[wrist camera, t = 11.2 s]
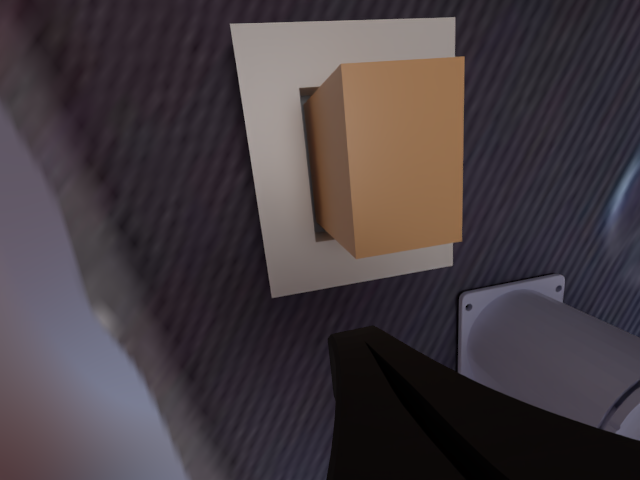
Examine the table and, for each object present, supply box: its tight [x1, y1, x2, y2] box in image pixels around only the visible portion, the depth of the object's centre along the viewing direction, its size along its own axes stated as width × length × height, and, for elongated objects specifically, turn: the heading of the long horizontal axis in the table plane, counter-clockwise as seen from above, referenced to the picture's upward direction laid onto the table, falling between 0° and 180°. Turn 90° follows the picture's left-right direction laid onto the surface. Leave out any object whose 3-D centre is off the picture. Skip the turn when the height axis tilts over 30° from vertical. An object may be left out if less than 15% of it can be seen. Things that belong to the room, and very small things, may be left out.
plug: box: [303, 57, 464, 259], centre depth 14 cm, size 6×4×7 cm, turn 6°
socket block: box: [230, 17, 455, 298], centre depth 16 cm, size 12×10×2 cm
